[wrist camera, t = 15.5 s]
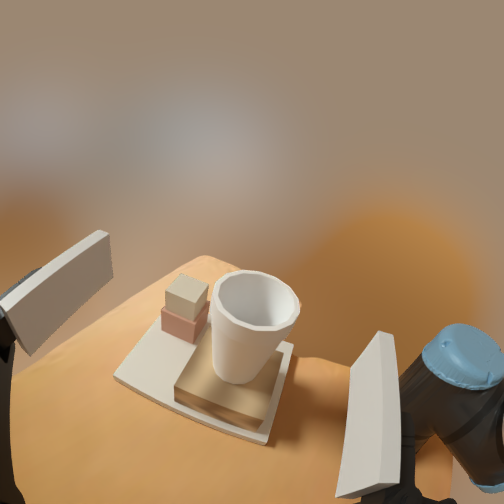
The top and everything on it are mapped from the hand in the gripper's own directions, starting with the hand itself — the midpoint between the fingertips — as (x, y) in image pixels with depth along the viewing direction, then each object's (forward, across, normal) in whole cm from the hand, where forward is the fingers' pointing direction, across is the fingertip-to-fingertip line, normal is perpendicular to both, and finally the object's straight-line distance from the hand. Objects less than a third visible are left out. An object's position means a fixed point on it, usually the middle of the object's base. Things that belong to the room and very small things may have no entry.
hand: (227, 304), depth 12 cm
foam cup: (+13, 0, -24) cm, 27 cm away
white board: (+16, -4, -30) cm, 34 cm away
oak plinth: (+13, 0, -28) cm, 31 cm away
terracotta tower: (+21, -11, -28) cm, 37 cm away
